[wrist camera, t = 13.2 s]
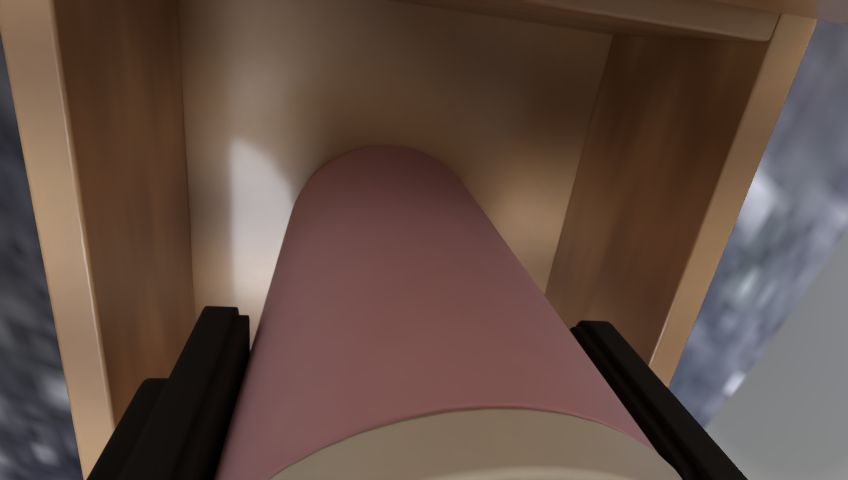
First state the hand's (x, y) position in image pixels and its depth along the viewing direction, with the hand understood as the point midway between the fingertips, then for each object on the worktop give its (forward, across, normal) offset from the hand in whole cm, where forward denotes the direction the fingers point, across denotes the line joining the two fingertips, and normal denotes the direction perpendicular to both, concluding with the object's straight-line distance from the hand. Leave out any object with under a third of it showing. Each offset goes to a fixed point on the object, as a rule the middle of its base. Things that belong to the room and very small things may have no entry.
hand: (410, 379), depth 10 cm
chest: (+8, 0, 0) cm, 8 cm away
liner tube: (+7, 0, 0) cm, 7 cm away
